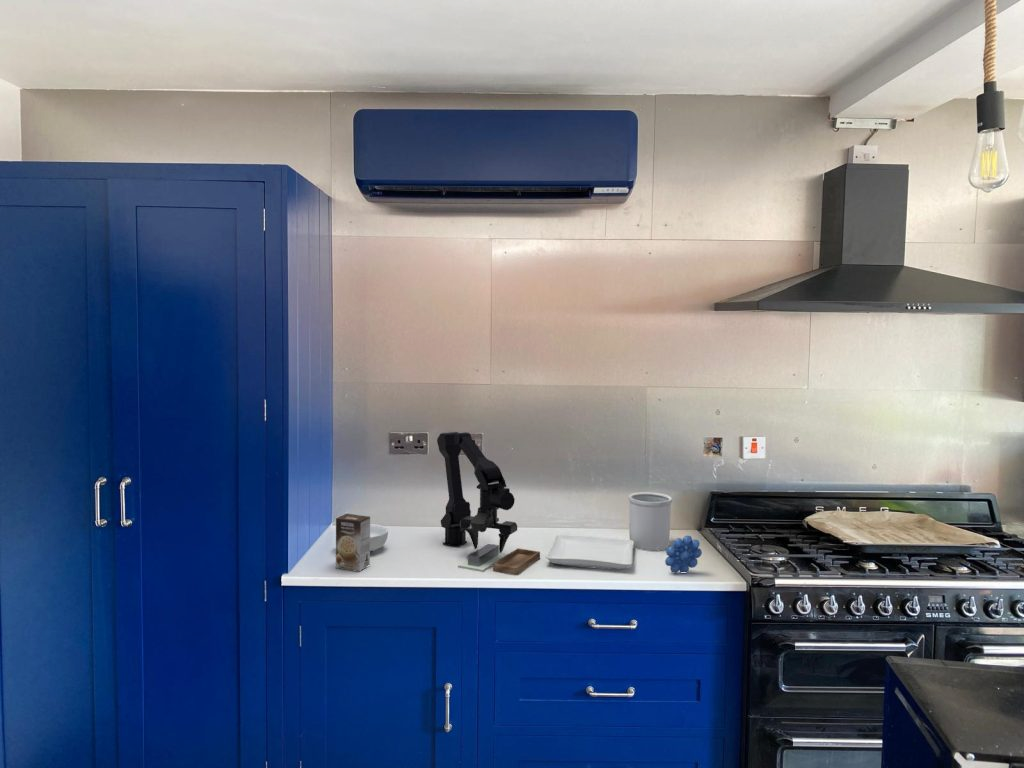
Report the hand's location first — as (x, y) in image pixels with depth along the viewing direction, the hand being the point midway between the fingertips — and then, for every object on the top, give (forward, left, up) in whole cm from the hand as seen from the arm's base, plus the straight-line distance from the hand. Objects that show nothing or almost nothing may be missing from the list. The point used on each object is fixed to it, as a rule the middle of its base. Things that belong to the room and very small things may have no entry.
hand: (488, 550), depth 219 cm
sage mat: (0, -3, -3) cm, 4 cm away
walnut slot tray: (+11, -1, -3) cm, 11 cm away
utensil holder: (+44, +39, -3) cm, 59 cm away
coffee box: (-34, -27, -3) cm, 43 cm away
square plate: (+30, +17, -3) cm, 35 cm away
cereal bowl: (-42, -12, -3) cm, 44 cm away
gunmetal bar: (0, -3, -2) cm, 4 cm away
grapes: (+60, +16, -3) cm, 62 cm away
